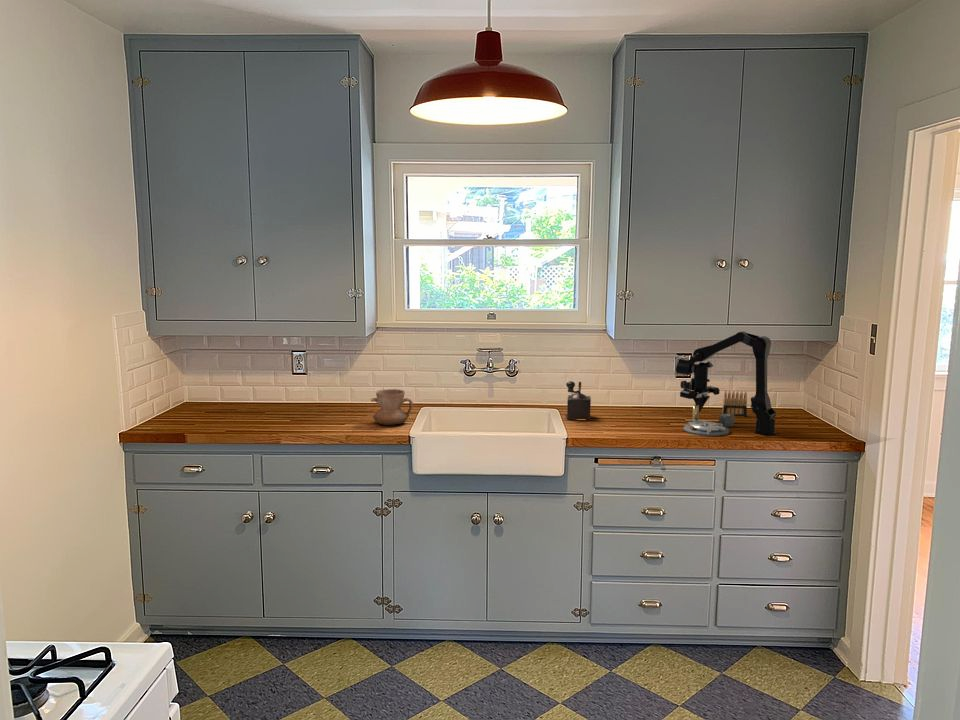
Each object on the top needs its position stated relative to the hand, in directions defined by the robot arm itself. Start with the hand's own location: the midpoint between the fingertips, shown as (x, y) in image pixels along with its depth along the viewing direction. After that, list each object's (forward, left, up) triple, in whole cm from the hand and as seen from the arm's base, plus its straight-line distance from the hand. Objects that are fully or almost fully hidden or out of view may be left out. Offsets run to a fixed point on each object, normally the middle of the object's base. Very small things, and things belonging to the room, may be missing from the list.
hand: (698, 411), depth 303 cm
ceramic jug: (+67, +115, -5) cm, 134 cm away
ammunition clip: (+1, -25, -5) cm, 26 cm away
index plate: (-11, +8, -5) cm, 15 cm away
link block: (-10, -6, -5) cm, 13 cm away
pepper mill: (+33, +40, -5) cm, 52 cm away
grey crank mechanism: (-9, +7, -4) cm, 12 cm away
